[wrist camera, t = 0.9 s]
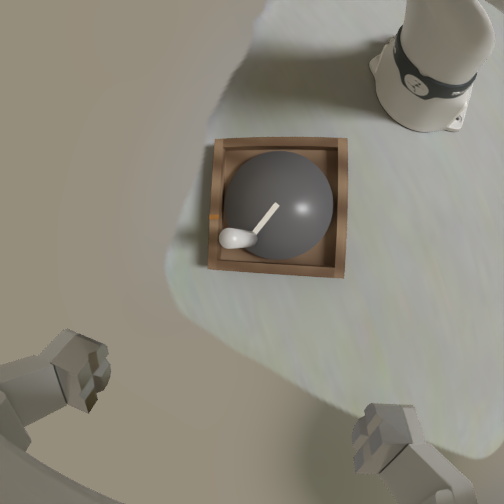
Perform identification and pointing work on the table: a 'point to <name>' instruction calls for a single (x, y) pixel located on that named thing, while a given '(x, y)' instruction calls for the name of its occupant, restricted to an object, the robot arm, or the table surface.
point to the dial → (277, 206)
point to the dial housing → (334, 241)
